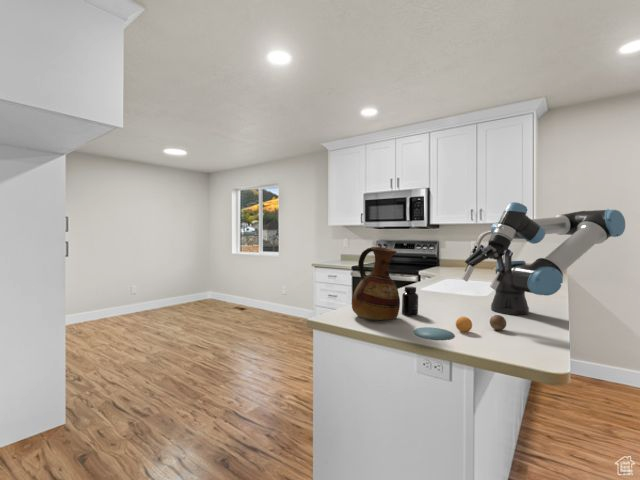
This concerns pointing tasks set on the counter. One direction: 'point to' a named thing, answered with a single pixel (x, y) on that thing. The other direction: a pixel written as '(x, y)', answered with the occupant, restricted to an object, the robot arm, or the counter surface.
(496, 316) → the dark brown ball
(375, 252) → the ceramic pitcher
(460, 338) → the counter surface
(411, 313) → the supplement bottle
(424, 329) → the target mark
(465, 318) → the object ball
